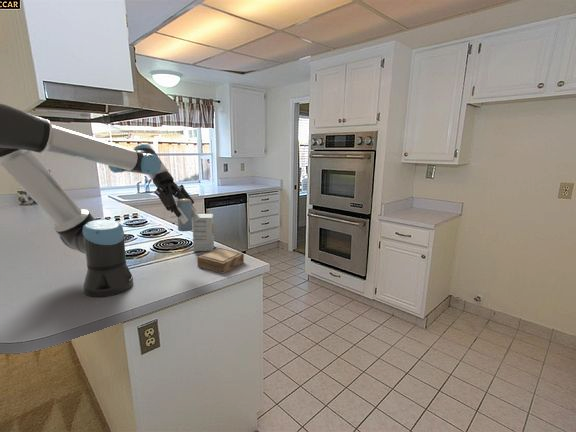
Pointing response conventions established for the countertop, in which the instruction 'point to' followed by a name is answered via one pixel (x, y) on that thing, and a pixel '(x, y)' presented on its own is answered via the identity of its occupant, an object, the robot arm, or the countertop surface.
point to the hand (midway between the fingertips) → (191, 220)
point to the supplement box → (203, 233)
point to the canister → (187, 210)
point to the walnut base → (220, 260)
